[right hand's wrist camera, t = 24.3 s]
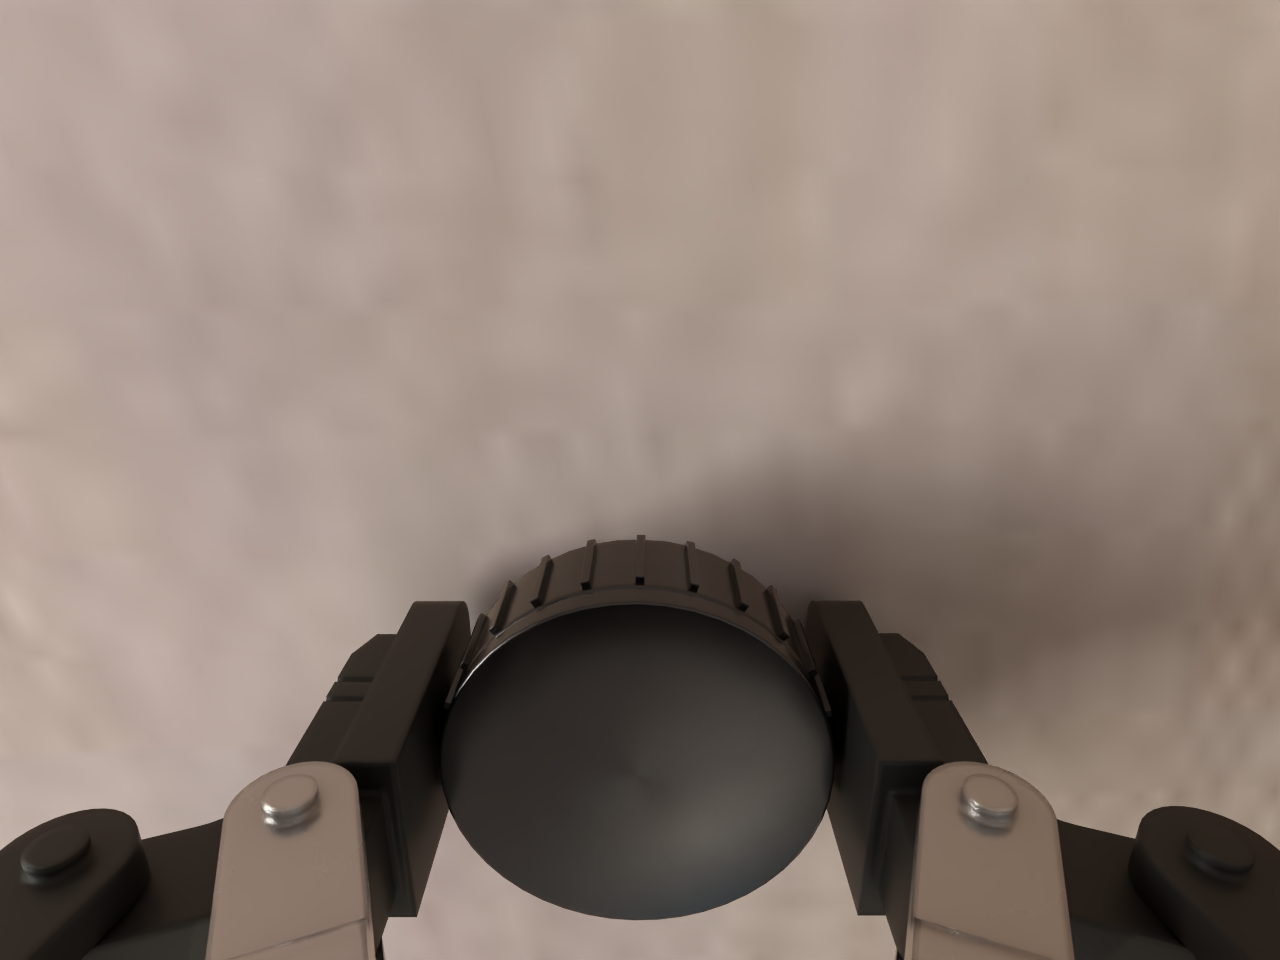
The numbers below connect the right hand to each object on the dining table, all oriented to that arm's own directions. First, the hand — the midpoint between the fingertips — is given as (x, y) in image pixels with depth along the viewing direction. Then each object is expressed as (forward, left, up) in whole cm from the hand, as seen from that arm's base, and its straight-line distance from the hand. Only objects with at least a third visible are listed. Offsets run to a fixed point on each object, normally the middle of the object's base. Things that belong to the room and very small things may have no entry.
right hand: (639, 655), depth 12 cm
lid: (0, 0, +2) cm, 2 cm away
